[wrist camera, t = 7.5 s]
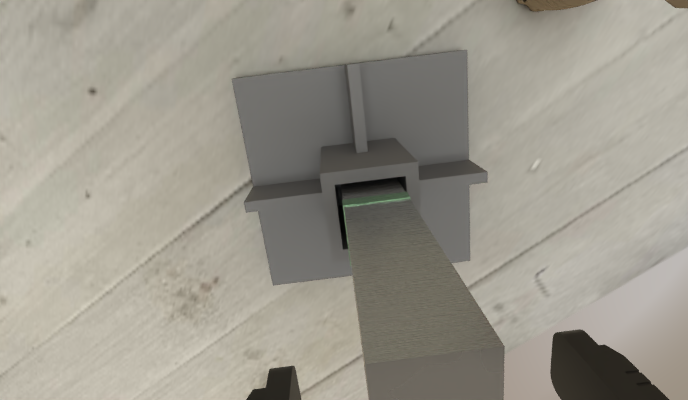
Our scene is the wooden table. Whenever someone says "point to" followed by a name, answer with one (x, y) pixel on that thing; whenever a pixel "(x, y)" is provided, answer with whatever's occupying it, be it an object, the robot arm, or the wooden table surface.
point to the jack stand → (355, 154)
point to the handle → (577, 4)
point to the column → (414, 305)
